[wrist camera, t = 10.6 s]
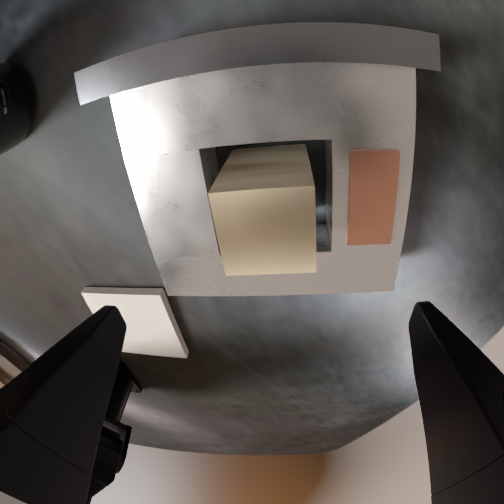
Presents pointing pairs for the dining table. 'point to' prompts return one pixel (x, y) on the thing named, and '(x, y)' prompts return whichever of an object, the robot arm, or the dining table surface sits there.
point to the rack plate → (271, 130)
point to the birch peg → (265, 211)
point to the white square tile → (142, 319)
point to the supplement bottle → (15, 105)
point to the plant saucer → (10, 363)
